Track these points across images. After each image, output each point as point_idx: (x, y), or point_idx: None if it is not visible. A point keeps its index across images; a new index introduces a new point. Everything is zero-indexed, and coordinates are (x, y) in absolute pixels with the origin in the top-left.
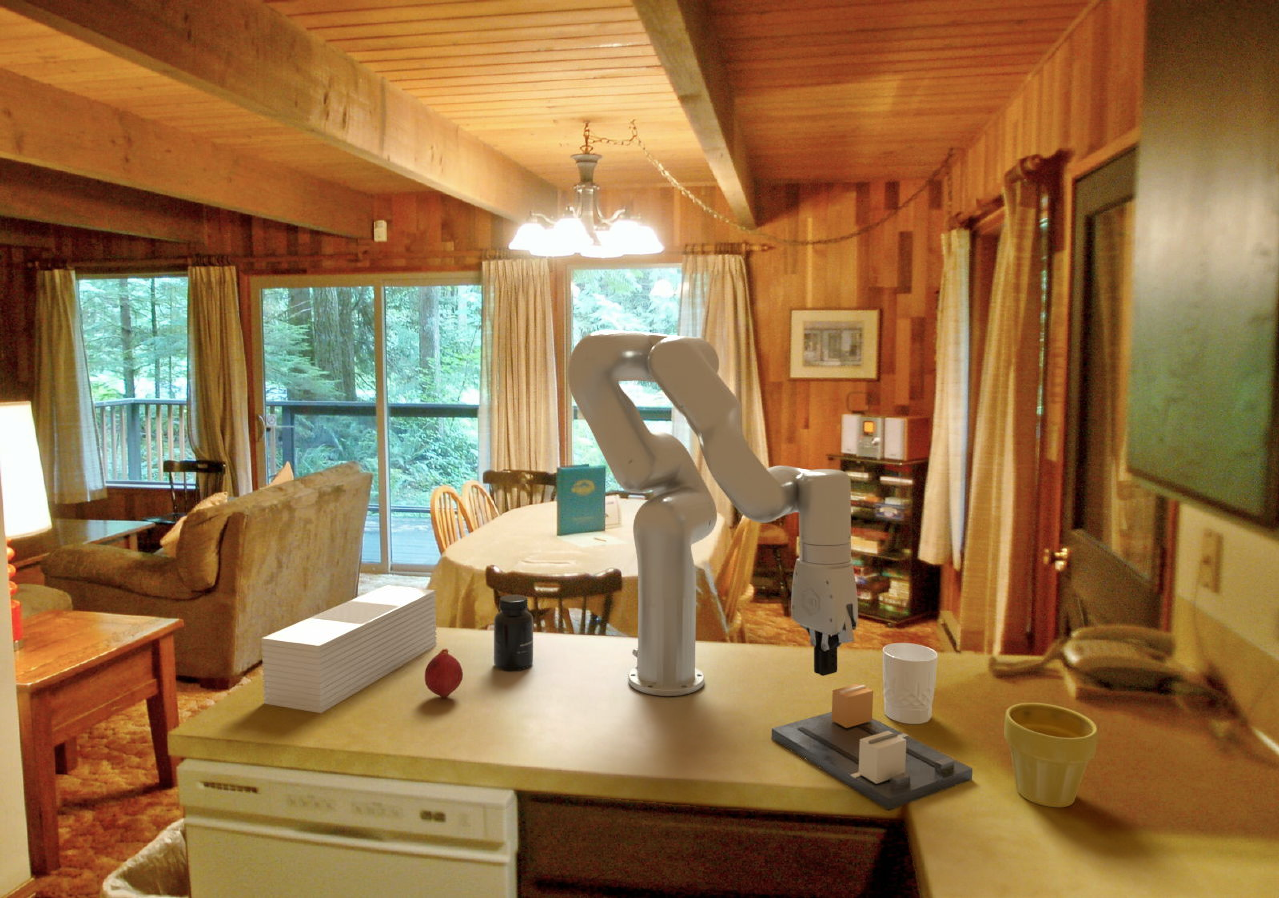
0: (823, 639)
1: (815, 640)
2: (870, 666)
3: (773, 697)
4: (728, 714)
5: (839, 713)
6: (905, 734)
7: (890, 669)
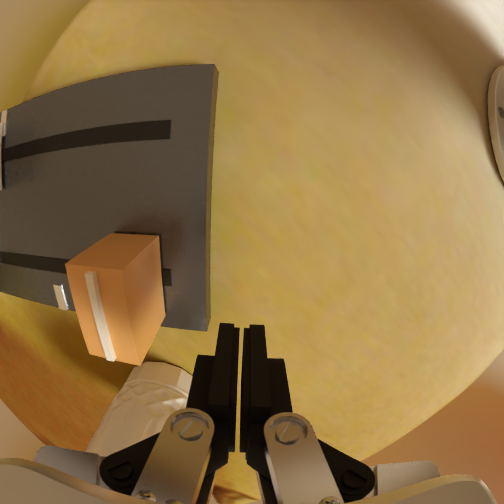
0: (189, 462)
1: (270, 444)
2: (337, 446)
3: (392, 250)
4: (386, 87)
5: (120, 243)
6: (63, 307)
7: (130, 438)
